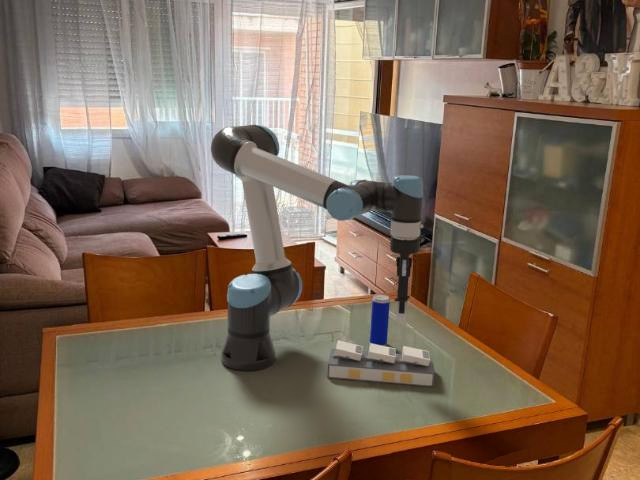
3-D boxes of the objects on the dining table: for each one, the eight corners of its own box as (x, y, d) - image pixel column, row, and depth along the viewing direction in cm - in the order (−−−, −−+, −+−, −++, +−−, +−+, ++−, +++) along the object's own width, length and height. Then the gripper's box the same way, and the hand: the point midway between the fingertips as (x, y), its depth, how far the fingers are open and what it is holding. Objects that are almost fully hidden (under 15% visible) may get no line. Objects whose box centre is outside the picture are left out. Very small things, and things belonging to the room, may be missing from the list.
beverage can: (386, 341, 189) (389, 294, 185) (386, 347, 184) (390, 300, 180) (369, 339, 189) (372, 293, 186) (369, 346, 185) (372, 299, 181)
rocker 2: (367, 359, 164) (369, 351, 163) (368, 350, 169) (370, 342, 169) (393, 365, 163) (395, 356, 163) (393, 356, 169) (395, 348, 168)
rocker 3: (401, 362, 163) (403, 353, 162) (401, 353, 168) (403, 345, 168) (428, 367, 162) (430, 359, 162) (426, 358, 168) (428, 350, 167)
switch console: (326, 378, 164) (327, 362, 162) (330, 361, 174) (331, 346, 173) (433, 387, 161) (435, 371, 160) (431, 369, 171) (432, 354, 170)
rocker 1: (334, 356, 165) (336, 348, 164) (336, 347, 170) (338, 339, 169) (359, 362, 164) (361, 354, 164) (360, 353, 170) (362, 345, 169)
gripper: (421, 243, 151) (415, 333, 156) (419, 231, 163) (414, 315, 169) (390, 241, 151) (386, 331, 157) (391, 230, 164) (387, 313, 170)
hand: (400, 323), depth 163 cm, fingers closed
